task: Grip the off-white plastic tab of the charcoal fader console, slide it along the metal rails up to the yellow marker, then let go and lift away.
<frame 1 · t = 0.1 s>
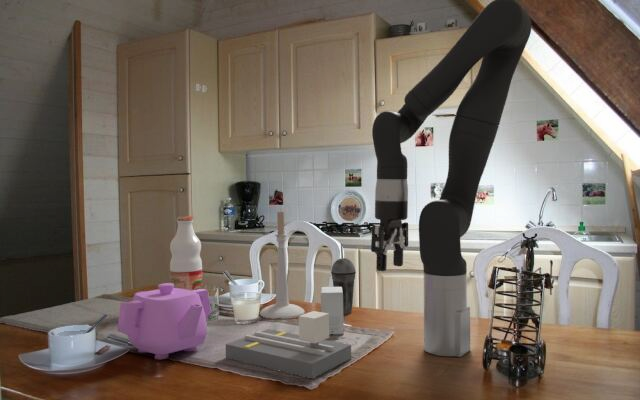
hand: (390, 268, 123), 17 cm above the table, tool pointing down, fingers open, 8 cm apart
candlestick: (282, 314, 152), on the table
fruit juice: (187, 310, 159), on the table
small box: (332, 331, 134), on the table
fader console: (288, 358, 113), on the table
fader tab: (314, 331, 108), point 7 cm above the table, slide at -7.0 cm
teapot: (167, 350, 120), on the table
beverage cup: (343, 312, 153), on the table
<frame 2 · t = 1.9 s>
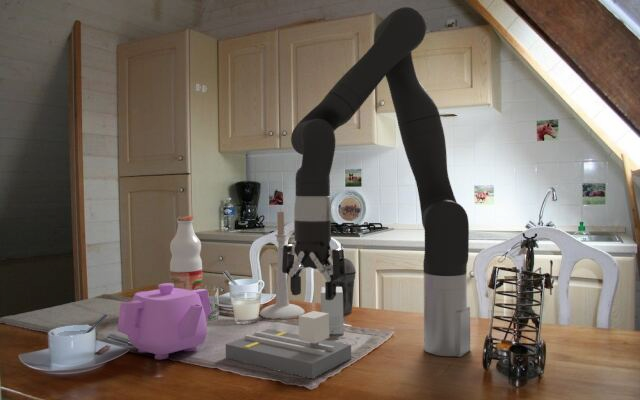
hand: (312, 297, 108), 14 cm above the table, tool pointing down, fingers open, 8 cm apart
nothing on the table moved.
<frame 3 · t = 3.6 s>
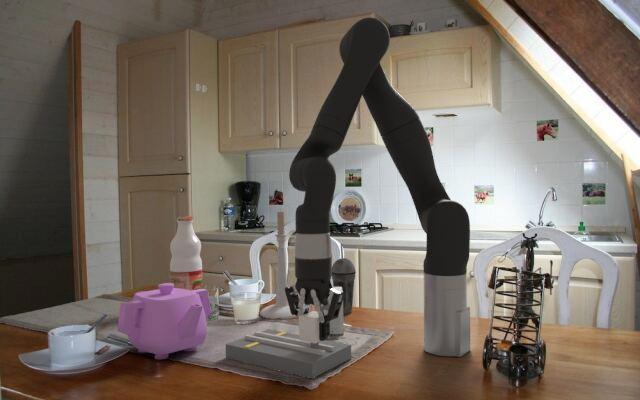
hand: (314, 337, 108), 6 cm above the table, tool pointing down, fingers closed on fader tab, 4 cm apart
fader tab: (314, 331, 108), point 7 cm above the table, slide at -7.0 cm, touching gripper
everything else where it was.
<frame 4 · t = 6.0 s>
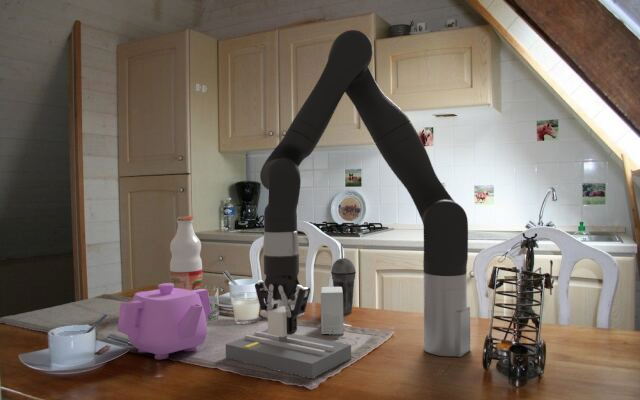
hand: (282, 331, 113), 6 cm above the table, tool pointing down, fingers closed on fader tab, 4 cm apart
fader tab: (282, 325, 113), point 7 cm above the table, slide at 1.3 cm, touching gripper
everything else where it was.
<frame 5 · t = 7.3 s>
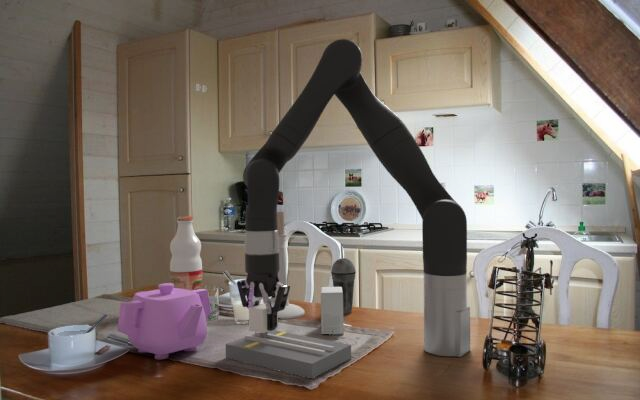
hand: (263, 328, 116), 6 cm above the table, tool pointing down, fingers closed on fader tab, 4 cm apart
fader tab: (263, 322, 116), point 7 cm above the table, slide at 6.8 cm, touching gripper
everything else where it was.
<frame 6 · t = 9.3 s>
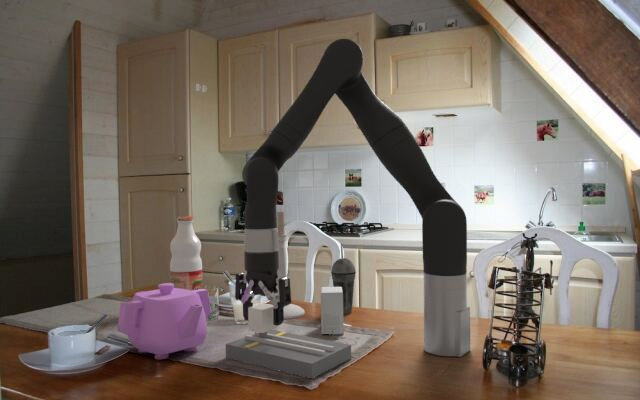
hand: (262, 322, 116), 7 cm above the table, tool pointing down, fingers open, 8 cm apart
fader tab: (262, 322, 116), point 7 cm above the table, slide at 6.9 cm
everything else where it was.
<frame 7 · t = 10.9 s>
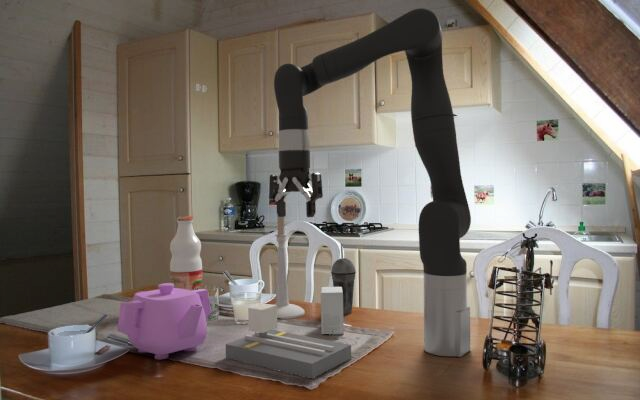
hand: (295, 216, 127), 29 cm above the table, tool pointing down, fingers open, 8 cm apart
nothing on the table moved.
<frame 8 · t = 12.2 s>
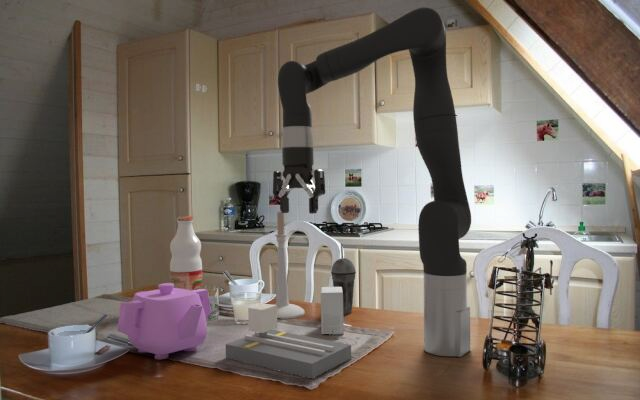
hand: (298, 213, 129), 30 cm above the table, tool pointing down, fingers open, 8 cm apart
nothing on the table moved.
at the end: fader tab slide at 6.9 cm; the gripper is holding nothing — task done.
